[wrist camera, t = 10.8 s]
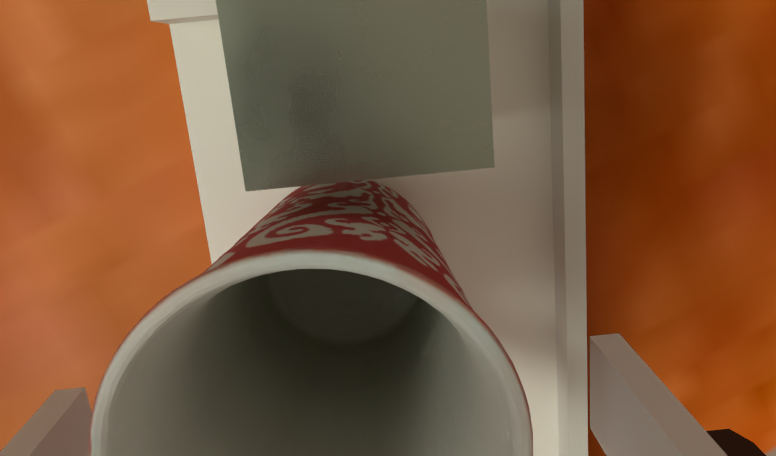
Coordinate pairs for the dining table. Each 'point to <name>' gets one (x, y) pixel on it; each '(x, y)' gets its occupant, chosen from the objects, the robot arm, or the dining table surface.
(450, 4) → the tea tin
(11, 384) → the dining table surface
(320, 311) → the mug
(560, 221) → the shelf
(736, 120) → the dining table surface
